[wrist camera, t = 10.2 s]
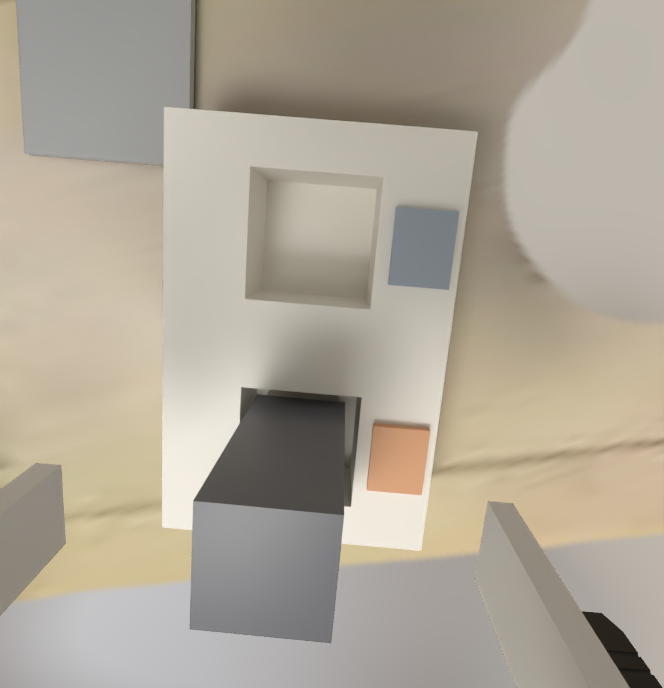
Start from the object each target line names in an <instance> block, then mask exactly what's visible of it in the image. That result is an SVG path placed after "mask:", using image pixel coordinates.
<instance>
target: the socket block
mask: <svg viewBox="0 0 664 688" xmlns="http://www.w3.org/2000/svg"><path fill="white" fill-rule="evenodd" d="M477 137H478V131H466V130H453V129H441V128H428V127H415V126H402V125H390V124H377V123H364V122H352V121H339V120H326V119H314V118H301V117H288V116H275V115H263V114H250V113H237V112H225V111H212V110H199V109H186V108H174V107H164V197H163V433H162V527H164V528H175V529H186V530H192V524H193V500H194V499H195V497H196V495H197V494H198V492H199V490H200V489H201V487H202V485H203V484H204V482H205V480H206V479H207V477H208V475H209V474H210V472H211V470H212V469H213V467H214V465H215V464H216V462H217V460H218V459H219V457H220V455H221V454H222V452H223V450H224V449H225V447H226V445H227V444H228V442H229V440H230V439H231V437H232V435H233V434H234V432H235V430H236V429H237V427H238V425H239V424H240V422H241V420H242V419H243V417H244V415H245V414H246V412H247V410H248V409H249V407H250V405H251V404H252V402H253V400H254V399H255V397H256V395H257V394H260V395H267V394H268V392H269V390H281V391H293V392H304V393H316V394H327V395H339V396H338V402H345V473H344V522H343V532H342V541H341V544H352V545H363V546H374V547H385V548H396V549H407V550H418V551H421V548H422V540H423V533H424V526H425V518H426V511H427V504H428V496H429V489H430V482H431V474H432V467H433V460H434V452H435V445H436V438H437V430H438V423H439V416H440V408H441V401H442V394H443V386H444V379H445V372H446V364H447V357H448V350H449V342H450V335H451V328H452V320H453V313H454V306H455V298H456V291H457V284H458V276H459V269H460V261H461V254H462V247H463V239H464V232H465V225H466V217H467V210H468V203H469V195H470V188H471V181H472V173H473V166H474V159H475V151H476V144H477Z"/></svg>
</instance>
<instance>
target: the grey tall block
mask: <svg viewBox="0 0 664 688" xmlns="http://www.w3.org/2000/svg"><path fill="white" fill-rule="evenodd" d="M338 396H339V395H327V394H316V393H304V392H293V391H281V390H269V392H268V394H267V395H260V394H257V395H256V397H255V399H254V400H253V402H252V404H251V405H250V407H249V409H248V410H247V412H246V414H245V415H244V417H243V419H242V420H241V422H240V424H239V425H238V427H237V429H236V430H235V432H234V434H233V435H232V437H231V439H230V440H229V442H228V444H227V445H226V447H225V449H224V450H223V452H222V454H221V455H220V457H219V459H218V460H217V462H216V464H215V465H214V467H213V469H212V470H211V472H210V474H209V475H208V477H207V479H206V480H205V482H204V484H203V485H202V487H201V489H200V490H199V492H198V494H197V495H196V497H195V499H194V500H193V524H192V562H191V602H190V629H193V630H203V631H213V632H224V633H233V634H243V635H254V636H264V637H274V638H284V639H294V640H304V641H315V642H325V643H331V639H332V629H333V619H334V610H335V600H336V590H337V579H338V571H339V561H340V551H341V541H342V532H343V522H344V473H345V402H338Z"/></svg>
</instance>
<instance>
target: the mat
mask: <svg viewBox="0 0 664 688" xmlns="http://www.w3.org/2000/svg"><path fill="white" fill-rule="evenodd" d="M16 7H17V25H18V44H19V62H20V80H21V98H22V117H23V135H24V153H25V154H29V155H32V156H43V157H56V158H68V159H81V160H93V161H106V162H118V163H131V164H143V165H155V166H164V107H174V108H186V109H194V56H195V0H16Z"/></svg>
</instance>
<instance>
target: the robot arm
mask: <svg viewBox="0 0 664 688" xmlns="http://www.w3.org/2000/svg"><path fill="white" fill-rule="evenodd" d="M65 544H66V540H65V523H64V506H63V489H62V471H61V465H54V464H42V463H36V464H34V465H33V466H32V467H30V468H29V469H28V470H26V471H25V472H24V473H22V474H21V475H19V476H18V477H17V478H15V479H14V480H13V481H11V482H10V483H9V484H7V485H6V486H5V487H3V488H2V489H0V616H1V615H2V613H3V612H4V611H5V610H6V609H7V608H8V607H9V606H10V605H11V603H12V602H13V601H14V600H15V599H16V598H17V597H18V596H19V595H20V593H21V592H22V591H23V590H24V589H25V588H26V587H27V586H28V585H29V584H30V582H31V581H32V580H33V579H34V578H35V577H36V576H37V575H38V574H39V572H40V571H41V570H42V569H43V568H44V567H45V566H46V565H47V564H48V563H49V561H50V560H51V559H52V558H53V557H54V556H55V555H56V554H57V553H58V551H59V550H60V549H61V548H62V547H63V546H64V545H65ZM475 581H476V584H477V587H478V589H479V592H480V595H481V597H482V600H483V602H484V605H485V608H486V610H487V613H488V615H489V618H490V621H491V623H492V626H493V628H494V631H495V634H496V636H497V639H498V642H499V644H500V647H501V649H502V652H503V655H504V657H505V660H506V662H507V665H508V668H509V670H510V673H511V675H512V678H513V680H514V683H515V686H516V688H662V686H661V685H660V684H659V682H658V681H657V679H656V678H655V676H654V675H651V673H650V669H649V668H648V667H647V665H646V664H645V662H644V661H643V660H642V658H641V657H638V652H637V651H636V650H635V648H634V647H633V645H632V644H631V643H630V641H629V640H628V638H627V637H626V635H625V634H624V633H623V632H622V631H621V630H620V629H619V628H618V627H617V626H616V625H615V624H613V623H612V622H611V621H610V620H609V619H608V618H606V617H605V616H604V615H603V614H602V613H593V612H582V611H581V610H580V609H579V607H578V605H577V604H576V602H575V601H574V599H573V597H572V596H571V594H570V593H569V591H568V590H567V588H566V586H565V585H564V583H563V582H562V580H561V578H560V577H559V575H558V574H557V572H556V571H555V569H554V568H553V566H552V564H551V563H550V561H549V560H548V558H547V556H546V555H545V553H544V552H543V550H542V549H541V547H540V545H539V544H538V542H537V541H536V539H535V537H534V536H533V534H532V533H531V531H530V530H529V528H528V526H527V525H526V523H525V522H524V520H523V519H522V517H521V515H520V514H519V512H518V511H517V509H516V508H515V506H514V504H513V503H501V502H490V501H488V504H487V509H486V515H485V521H484V526H483V532H482V538H481V544H480V549H479V555H478V561H477V567H476V572H475Z"/></svg>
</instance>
